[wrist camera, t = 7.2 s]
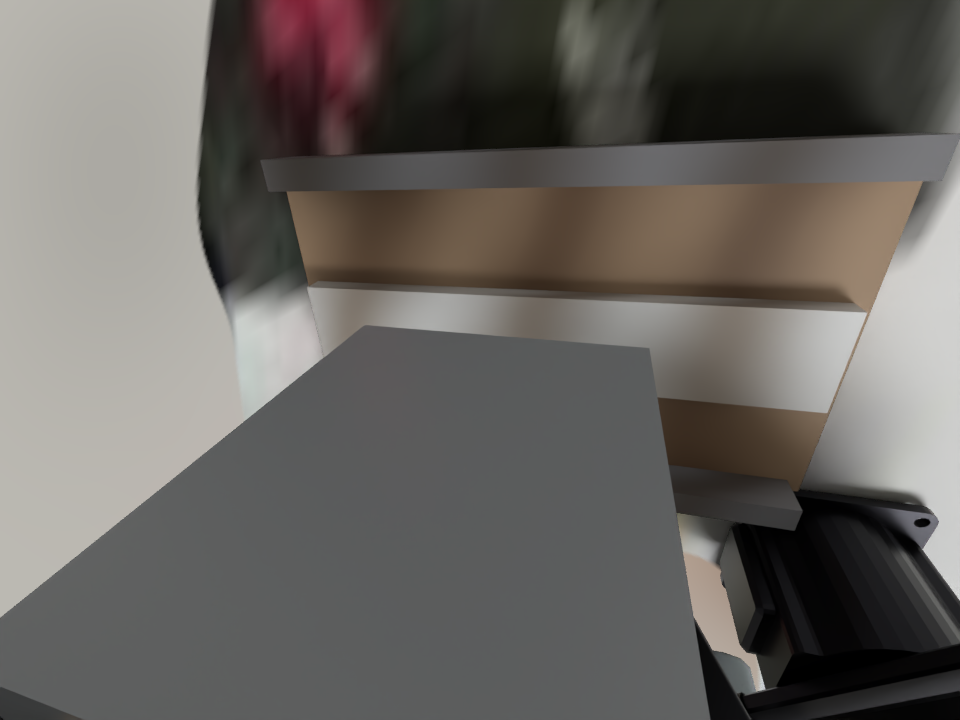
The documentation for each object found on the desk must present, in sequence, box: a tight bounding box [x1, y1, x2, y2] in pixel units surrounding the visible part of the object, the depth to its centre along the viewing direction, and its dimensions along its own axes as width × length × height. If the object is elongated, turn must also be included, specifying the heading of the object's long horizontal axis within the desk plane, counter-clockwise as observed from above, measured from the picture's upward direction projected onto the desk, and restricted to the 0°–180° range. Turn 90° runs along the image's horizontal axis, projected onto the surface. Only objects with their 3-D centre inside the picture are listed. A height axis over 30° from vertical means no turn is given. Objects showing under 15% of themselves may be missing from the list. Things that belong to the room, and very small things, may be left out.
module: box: [0, 325, 710, 720], centre depth 6 cm, size 5×7×6 cm
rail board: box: [260, 132, 960, 531], centre depth 16 cm, size 20×13×3 cm, turn 93°
